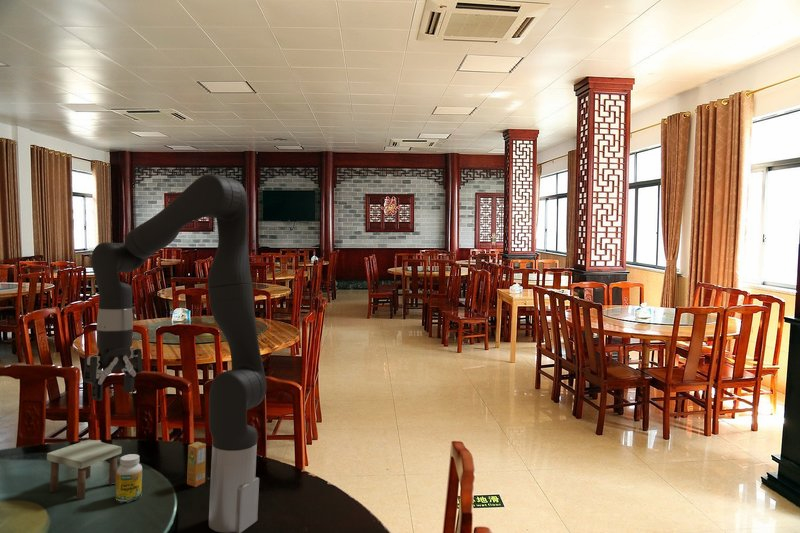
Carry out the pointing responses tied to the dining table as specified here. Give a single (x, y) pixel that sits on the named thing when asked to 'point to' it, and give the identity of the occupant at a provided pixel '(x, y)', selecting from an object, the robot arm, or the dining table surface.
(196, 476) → the supplement box
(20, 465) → the dining table surface
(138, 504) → the dining table surface
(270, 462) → the dining table surface
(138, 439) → the dining table surface
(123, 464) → the supplement bottle
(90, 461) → the stool
